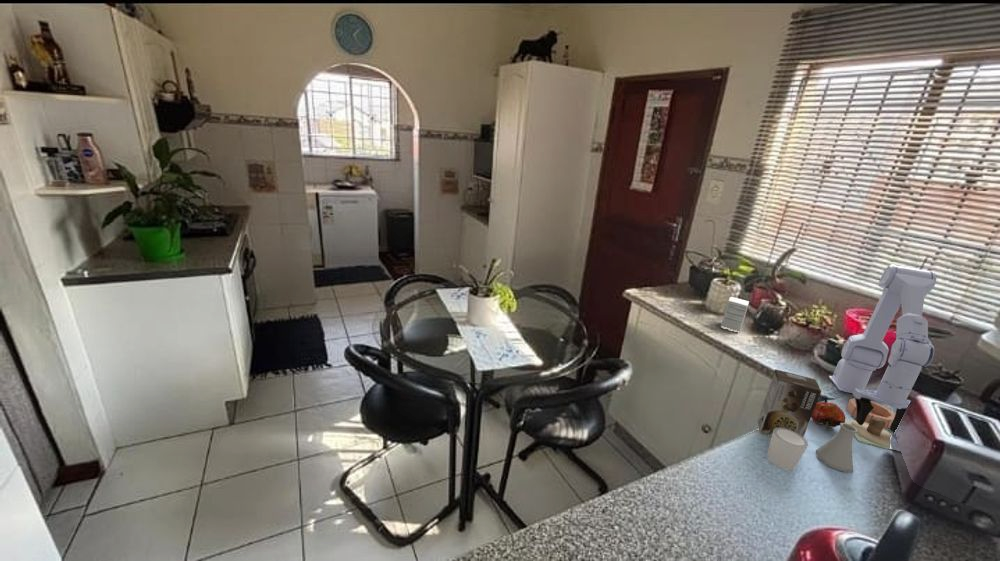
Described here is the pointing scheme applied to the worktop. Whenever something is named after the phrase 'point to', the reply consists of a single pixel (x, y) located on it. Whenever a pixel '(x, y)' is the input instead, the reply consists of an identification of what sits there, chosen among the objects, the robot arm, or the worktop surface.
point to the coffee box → (788, 403)
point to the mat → (861, 439)
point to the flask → (839, 449)
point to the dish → (873, 412)
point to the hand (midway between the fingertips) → (875, 427)
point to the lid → (874, 431)
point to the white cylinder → (786, 448)
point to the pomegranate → (828, 414)
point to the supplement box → (735, 313)
